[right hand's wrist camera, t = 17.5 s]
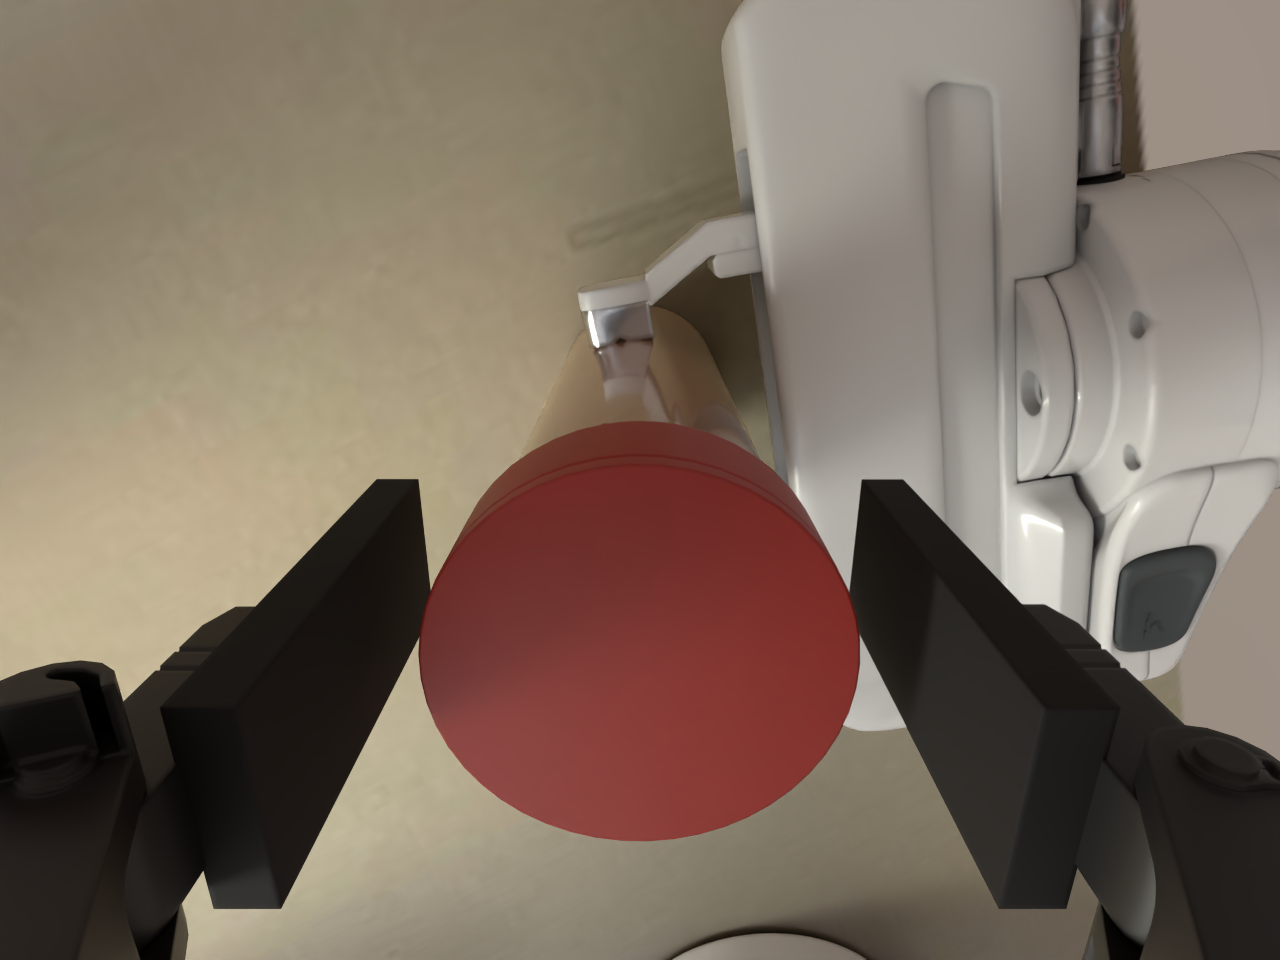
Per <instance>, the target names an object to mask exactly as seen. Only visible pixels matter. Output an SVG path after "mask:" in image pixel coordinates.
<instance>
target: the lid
mask: <svg viewBox="0 0 1280 960" xmlns="http://www.w3.org/2000/svg"><path fill="white" fill-rule="evenodd" d="M419 665H420V676H421V682H422V686H423V690H424V694H425V698H426V702H427V705H428V707H429V710H430V712H431V715H432V717H433V720H434V722H435V725H436V727H437V728H438V730H439V732H440V734H441V735H442V737H443V739H444V740H445V742H446V744H447V746H448V747H449V749H450V750H451V751H452V752H453V754H454V755H455V756H456V758H457V759H458V760H459V761H460V763H461V764H462V765H463V767H464V768H465V769H466V770H467V771H468V772H469V773H470V774H472V775H473V776H474V777H475V778H476V779H477V780H478V781H479V782H480V783H481V784H482V785H483V786H484V787H486V788H487V789H488V790H489V791H491V792H492V793H493V794H495V795H496V796H497V797H498V798H500V799H501V800H503V801H504V802H506V803H508V804H509V805H511V806H513V807H514V808H516V809H517V810H519V811H521V812H522V813H524V814H527V815H529V816H531V817H533V818H535V819H537V820H540V821H542V822H544V823H546V824H549V825H552V826H555V827H558V828H561V829H564V830H567V831H570V832H574V833H578V834H583V835H587V836H591V837H596V838H604V839H612V840H621V841H655V840H668V839H676V838H682V837H687V836H693V835H698V834H702V833H705V832H709V831H712V830H715V829H719V828H722V827H725V826H728V825H730V824H732V823H735V822H737V821H740V820H742V819H744V818H747V817H749V816H751V815H753V814H754V813H756V812H758V811H760V810H762V809H764V808H765V807H767V806H769V805H771V804H772V803H773V802H775V801H776V800H778V799H779V798H781V797H782V796H783V795H785V794H786V793H788V792H789V791H790V790H792V789H793V788H794V787H795V786H796V785H797V784H798V783H799V782H800V781H802V780H803V779H804V778H805V777H806V776H807V775H808V774H809V773H810V772H811V771H812V770H813V769H814V767H815V766H816V765H817V764H818V763H819V762H820V760H821V759H822V758H823V757H824V756H825V754H826V753H827V751H828V750H829V748H830V747H831V745H832V744H833V742H834V741H835V739H836V738H837V736H838V735H839V733H840V731H841V728H842V726H843V724H844V722H845V720H846V718H847V716H848V714H849V711H850V708H851V705H852V701H853V698H854V695H855V692H856V688H857V681H858V675H859V668H860V635H859V629H858V623H857V616H856V612H855V609H854V606H853V603H852V600H851V597H850V594H849V591H848V588H847V586H846V584H845V582H844V580H843V578H842V576H841V574H840V572H839V570H838V568H837V566H836V564H835V563H834V561H833V559H832V557H831V555H830V553H829V551H828V550H827V548H826V546H825V544H824V542H823V540H822V539H821V537H820V535H819V533H818V531H817V529H816V527H815V526H814V524H813V522H812V520H811V518H810V516H809V514H808V513H807V511H806V509H805V508H804V506H803V505H802V503H801V502H800V500H799V499H798V498H797V496H796V495H795V493H794V492H793V490H792V489H791V488H790V487H789V486H788V485H787V484H786V483H785V482H784V481H783V480H782V479H781V478H780V476H779V475H778V474H777V473H776V472H775V471H773V470H772V469H771V468H770V467H768V466H767V465H766V464H765V463H763V462H762V461H761V460H760V459H758V458H757V457H756V456H754V455H753V454H751V453H749V452H748V451H746V450H744V449H743V448H741V447H739V446H738V445H736V444H734V443H732V442H730V441H728V440H725V439H723V438H721V437H718V436H716V435H714V434H711V433H709V432H705V431H702V430H698V429H695V428H691V427H688V426H684V425H677V424H671V423H664V422H653V421H626V422H616V423H606V424H601V425H597V426H593V427H588V428H584V429H580V430H577V431H574V432H571V433H569V434H566V435H563V436H561V437H558V438H555V439H553V440H551V441H549V442H548V443H546V444H544V445H542V446H540V447H538V448H536V449H534V450H533V451H531V452H530V453H528V454H527V455H525V456H524V457H523V458H521V459H520V460H518V461H517V462H516V463H514V464H513V465H511V466H510V467H509V468H508V469H507V470H506V471H505V472H504V473H503V474H502V475H501V476H500V477H499V478H498V479H497V480H496V481H495V482H494V483H493V484H492V485H491V486H490V488H489V489H488V490H487V491H486V493H485V494H484V495H483V496H482V498H481V499H480V500H479V502H478V503H477V505H476V507H475V508H474V510H473V512H472V514H471V515H470V517H469V519H468V521H467V522H466V524H465V526H464V528H463V530H462V532H461V533H460V535H459V537H458V539H457V541H456V543H455V544H454V546H453V548H452V550H451V552H450V554H449V555H448V557H447V559H446V561H445V563H444V565H443V567H442V568H441V570H440V572H439V574H438V576H437V578H436V579H435V582H434V584H433V587H432V589H431V592H430V594H429V597H428V600H427V602H426V605H425V609H424V614H423V618H422V623H421V627H420V639H419Z"/></svg>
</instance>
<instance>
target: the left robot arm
mask: <svg viewBox="0 0 1280 960" xmlns="http://www.w3.org/2000/svg"><path fill="white" fill-rule="evenodd" d="M1126 17H1127V0H743V1H742V3H741V4H740V5H739V7H738V9H737V10H736V12H735V14H734V15H733V17H732V18H731V21H730V23H729V25H728V27H727V29H726V31H725V34H724V37H723V40H722V47H721V52H722V63H723V71H724V79H725V86H726V94H727V102H728V110H729V117H730V125H731V133H732V141H733V148H734V156H735V164H736V172H737V179H738V187H739V195H740V203H741V210H742V212H740V213H736V214H731V215H726V216H721V217H716V218H711V219H706V220H701V221H699V222H698V223H697V224H695V225H694V226H693V227H692V228H691V229H690V230H689V231H687V232H686V233H685V234H684V235H683V236H682V237H681V238H680V239H678V240H677V241H676V242H675V243H674V244H673V245H672V246H671V247H669V248H668V249H667V250H666V251H665V252H664V253H663V254H661V255H660V256H659V257H658V258H657V259H656V260H655V261H654V262H652V263H651V264H650V265H649V266H648V267H647V268H646V269H645V274H643V275H638V276H632V277H627V278H622V279H617V280H612V281H606V282H601V283H596V284H592V285H589V286H586V287H582V288H580V289H579V291H578V292H577V293H578V298H579V304H580V309H581V313H582V318H583V322H584V326H585V331H586V335H587V340H588V344H589V347H591V348H598V347H605V346H608V345H611V344H614V343H615V342H616V341H617V340H618V339H619V338H622V339H624V340H627V341H636V340H643V339H649V338H654V337H655V335H654V327H653V320H652V314H651V308H650V305H651V306H652V305H653V304H654V303H656V302H657V301H658V300H659V299H660V298H662V297H663V296H664V295H665V294H666V293H667V292H669V291H670V290H671V289H672V288H673V287H674V286H676V285H677V284H678V283H679V282H680V281H682V280H683V279H684V278H685V277H686V276H687V275H689V274H690V273H691V272H692V271H693V270H695V269H696V268H697V267H698V266H699V265H700V264H702V263H703V262H704V261H705V260H706V259H707V265H708V268H709V269H710V270H711V271H712V272H713V273H714V274H715V275H716V276H717V277H719V278H720V279H721V278H727V277H732V276H738V275H744V274H750V280H751V288H752V295H753V303H754V311H755V319H756V326H757V334H758V342H759V350H760V357H761V365H762V373H763V380H764V388H765V396H766V404H767V411H768V419H769V427H770V435H771V442H772V450H773V458H774V466H775V472H776V473H777V474H778V475H779V476H780V478H781V479H782V480H783V481H784V482H785V483H786V484H787V485H788V486H789V487H790V488H791V489H792V490H793V492H794V493H795V495H796V496H797V498H798V499H799V500H800V502H801V503H802V505H803V506H804V508H805V509H806V511H807V513H808V514H809V516H810V518H811V520H812V522H813V524H814V526H815V527H816V529H817V531H818V533H819V535H820V537H821V539H822V540H823V542H824V544H825V546H826V548H827V550H828V551H829V553H830V555H831V557H832V559H833V561H834V563H835V564H836V566H837V568H838V570H839V572H840V574H841V576H842V578H843V580H844V582H845V584H846V586H847V588H848V591H849V590H850V581H851V572H852V563H853V553H854V544H855V535H856V526H857V517H858V508H859V499H860V490H861V481H862V479H903V480H904V481H905V482H906V483H907V484H908V485H909V486H910V487H911V488H912V489H913V490H914V491H915V492H916V493H917V494H918V495H919V496H920V497H921V498H922V500H923V501H924V502H925V503H926V504H927V505H928V506H929V507H930V508H931V509H932V510H933V511H934V512H935V513H936V514H937V515H938V516H939V517H940V518H941V519H942V521H943V522H944V523H945V524H946V525H947V526H948V527H949V528H950V529H951V530H952V531H953V532H954V533H955V534H956V535H957V536H958V537H959V538H960V539H961V540H962V542H963V543H964V544H965V545H966V546H967V547H968V548H969V549H970V550H971V551H972V552H973V553H974V554H975V555H976V556H977V557H978V558H979V559H980V560H981V562H982V563H983V564H984V565H985V566H986V567H987V568H988V569H989V570H990V571H991V572H992V573H993V574H994V575H995V576H996V577H997V578H998V579H999V580H1000V581H1001V583H1002V584H1003V585H1004V586H1005V587H1006V588H1007V589H1008V590H1009V591H1010V592H1011V593H1012V594H1013V595H1014V596H1015V597H1016V598H1017V599H1018V600H1019V601H1020V602H1021V604H1045V605H1047V606H1049V607H1051V608H1052V609H1054V610H1056V611H1058V612H1060V613H1061V614H1063V615H1065V616H1067V617H1069V618H1070V619H1072V620H1074V621H1076V622H1078V623H1079V624H1080V625H1081V626H1082V627H1083V628H1084V629H1085V630H1086V631H1087V632H1088V633H1089V634H1090V635H1091V636H1092V637H1094V638H1095V639H1096V640H1097V641H1098V642H1099V643H1100V644H1101V649H1106V650H1107V651H1108V652H1109V653H1110V654H1111V655H1112V656H1113V657H1114V658H1115V659H1116V660H1118V661H1119V662H1120V666H1121V668H1126V669H1127V670H1128V671H1129V672H1130V673H1131V674H1132V675H1133V676H1134V677H1135V678H1136V679H1137V680H1138V681H1142V680H1147V679H1152V678H1156V677H1158V676H1161V675H1164V674H1165V673H1167V672H1169V671H1170V670H1171V669H1172V668H1173V667H1174V666H1175V665H1176V664H1177V663H1178V662H1179V660H1180V659H1181V657H1182V655H1183V654H1184V652H1185V650H1186V648H1187V646H1188V644H1189V642H1190V639H1191V637H1192V635H1193V633H1194V630H1195V628H1196V626H1197V623H1198V621H1199V619H1200V617H1201V615H1202V613H1203V611H1204V608H1205V606H1206V604H1207V602H1208V600H1209V598H1210V596H1211V594H1212V592H1213V590H1214V588H1215V586H1216V584H1217V582H1218V580H1219V578H1220V576H1221V574H1222V572H1223V571H1224V569H1225V567H1226V565H1227V563H1228V562H1229V560H1230V558H1231V556H1232V554H1233V553H1234V551H1235V549H1236V548H1237V546H1238V545H1239V543H1240V541H1241V540H1242V538H1243V536H1244V535H1245V533H1246V532H1247V530H1248V529H1249V528H1250V526H1251V525H1252V523H1253V522H1254V520H1255V519H1256V518H1257V516H1258V515H1259V513H1260V512H1261V510H1262V509H1263V508H1264V506H1265V505H1266V503H1267V501H1268V500H1269V498H1270V496H1271V494H1272V492H1273V490H1274V489H1278V488H1280V151H1249V152H1243V153H1236V154H1230V155H1225V156H1220V157H1215V158H1210V159H1205V160H1200V161H1195V162H1189V163H1184V164H1179V165H1174V166H1169V167H1163V168H1158V169H1153V170H1148V171H1142V172H1137V173H1130V174H1121V162H1122V134H1123V94H1121V93H1120V92H1121V91H1122V83H1121V82H1120V81H1119V79H1121V71H1120V70H1119V69H1118V68H1119V66H1120V57H1119V56H1118V55H1119V54H1120V47H1121V33H1123V32H1124V31H1125V26H1126ZM859 635H860V634H859ZM843 725H844V726H846V727H849V728H851V729H854V730H857V731H868V732H870V731H885V730H893V729H901V728H907V727H906V725H905V723H904V721H903V719H902V717H901V715H900V713H899V711H898V709H897V707H896V705H895V703H894V701H893V699H892V697H891V695H890V693H889V692H888V690H887V688H886V686H885V684H884V682H883V680H882V678H881V676H880V674H879V672H878V670H877V668H876V666H875V664H874V662H873V660H872V658H871V656H870V654H869V652H868V650H867V648H866V646H865V644H864V642H863V640H862V638H861V636H860V668H859V675H858V681H857V688H856V692H855V695H854V698H853V701H852V705H851V708H850V711H849V714H848V716H847V718H846V720H845V722H844V724H843ZM672 960H867V959H865V958H864V957H862V956H860V955H859V954H857V953H855V952H853V951H851V950H849V949H847V948H845V947H842V946H840V945H837V944H834V943H831V942H828V941H825V940H821V939H817V938H813V937H808V936H802V935H794V934H780V933H763V934H750V935H742V936H735V937H730V938H725V939H721V940H717V941H714V942H710V943H707V944H704V945H701V946H699V947H696V948H694V949H691V950H689V951H687V952H685V953H683V954H681V955H679V956H677V957H675V958H674V959H672Z"/></svg>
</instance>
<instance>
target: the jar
mask: <svg viewBox="0 0 1280 960" xmlns="http://www.w3.org/2000/svg"><path fill="white" fill-rule="evenodd" d="M650 308H651V314H652V320H653V327H654V335H655V337H654V338H649V339H643V340H636V341H627V340H624V339H622V338H619V339H618V340H617V341H616V342H615V343H614V344H611V345H608V346H605V347H598V348H591V347H589V344H588V340H587V335H586V331H585V329H584V330H583V331H582V332H581V334H580V335H579V336H578V338H577V339H576V341H575V343H574V344H573V346H572V349H571V351H570V353H569V355H568V357H567V359H566V361H565V363H564V365H563V368H562V370H561V372H560V374H559V376H558V378H557V380H556V382H555V385H554V387H553V389H552V391H551V393H550V395H549V397H548V399H547V402H546V404H545V406H544V408H543V410H542V412H541V414H540V416H539V418H538V421H537V423H536V425H535V427H534V429H533V431H532V433H531V435H530V438H529V440H528V442H527V444H526V446H525V448H524V450H523V452H522V455H521V457H520V459H521V458H523V457H524V456H525V455H527V454H528V453H530V452H531V451H533V450H534V449H536V448H538V447H540V446H542V445H544V444H546V443H548V442H549V441H551V440H553V439H555V438H558V437H561V436H563V435H566V434H569V433H571V432H574V431H577V430H580V429H584V428H588V427H593V426H597V425H601V424H606V423H616V422H626V421H653V422H664V423H671V424H677V425H684V426H688V427H691V428H695V429H698V430H702V431H705V432H709V433H711V434H714V435H716V436H718V437H721V438H723V439H725V440H728V441H730V442H732V443H734V444H736V445H738V446H739V447H741V448H743V449H744V450H746V451H748V452H749V453H751V454H753V455H754V456H756V457H757V458H758V459H760V458H759V455H758V453H757V451H756V449H755V447H754V445H753V443H752V440H751V438H750V436H749V434H748V432H747V430H746V428H745V425H744V423H743V421H742V419H741V417H740V415H739V413H738V411H737V408H736V406H735V404H734V402H733V400H732V398H731V396H730V393H729V391H728V389H727V387H726V385H725V383H724V381H723V379H722V376H721V374H720V372H719V370H718V368H717V366H716V364H715V361H714V359H713V357H712V355H711V353H710V351H709V349H708V346H707V344H706V343H705V341H704V340H703V338H702V336H701V335H700V334H699V333H698V331H697V330H696V329H695V328H694V327H693V326H692V325H691V324H690V323H689V322H688V321H686V320H685V319H683V318H682V317H680V316H679V315H677V314H675V313H673V312H671V311H669V310H666V309H663V308H660V307H655V306H650ZM520 459H519V460H520Z"/></svg>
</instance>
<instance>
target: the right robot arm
mask: <svg viewBox="0 0 1280 960" xmlns="http://www.w3.org/2000/svg"><path fill="white" fill-rule="evenodd" d="M430 592H431V590H430V581H429V572H428V563H427V553H426V544H425V535H424V526H423V517H422V508H421V499H420V490H419V481H418V479H377V480H376V481H375V482H374V483H373V484H372V485H371V486H370V487H369V488H368V489H367V490H366V491H365V492H364V493H363V494H362V495H361V496H360V497H359V498H358V500H357V501H356V502H355V503H354V504H353V505H352V506H351V507H350V508H349V509H348V510H347V511H346V512H345V513H344V514H343V515H342V516H341V517H340V518H339V519H338V521H337V522H336V523H335V524H334V525H333V526H332V527H331V528H330V529H329V530H328V531H327V532H326V533H325V534H324V535H323V536H322V537H321V538H320V539H319V540H318V542H317V543H316V544H315V545H314V546H313V547H312V548H311V549H310V550H309V551H308V552H307V553H306V554H305V555H304V556H303V557H302V558H301V559H300V560H299V562H298V563H297V564H296V565H295V566H294V567H293V568H292V569H291V570H290V571H289V572H288V573H287V574H286V575H285V576H284V577H283V578H282V579H281V580H280V581H279V583H278V584H277V585H276V586H275V587H274V588H273V589H272V590H271V591H270V592H269V593H268V594H267V595H266V596H265V597H264V598H263V599H262V600H261V601H260V602H259V604H258V605H257V606H256V607H234V608H233V609H231V610H229V611H227V612H226V613H224V614H222V615H220V616H218V617H217V618H215V619H213V620H211V621H209V622H208V623H206V624H204V625H202V626H201V627H200V628H199V629H198V630H197V631H196V632H195V633H194V634H193V635H192V636H191V637H190V638H189V639H188V640H187V641H186V642H185V643H184V644H183V645H182V646H181V647H180V650H179V652H174V653H173V654H172V655H171V656H170V657H169V658H168V659H167V660H166V661H165V662H164V663H163V664H162V665H161V666H160V667H161V668H160V671H155V672H154V673H153V674H152V675H151V676H149V677H148V678H147V679H146V680H145V681H144V682H143V683H142V684H141V685H140V686H139V687H138V688H137V689H136V690H135V691H134V692H133V693H132V694H131V695H130V696H129V697H128V698H127V699H126V700H125V701H124V702H123V699H122V696H121V692H120V689H119V686H118V682H117V679H116V675H115V672H114V670H112V669H111V668H109V667H108V666H106V665H104V664H103V663H98V662H89V661H72V662H63V663H54V664H50V665H46V666H42V667H38V668H35V669H31V670H27V671H24V672H20V673H18V674H16V675H13V676H11V677H8V678H6V679H4V680H1V681H0V960H185V956H186V948H187V941H188V929H187V922H186V917H185V914H184V910H183V907H182V902H183V901H184V899H185V898H186V896H187V895H188V893H189V892H190V890H191V888H192V887H193V885H194V884H195V882H196V881H197V879H198V878H199V876H200V875H201V873H202V872H203V871H204V874H205V878H206V882H207V886H208V889H209V893H210V897H211V900H212V904H213V908H214V909H281V908H282V906H283V904H284V902H285V900H286V898H287V896H288V894H289V892H290V890H291V888H292V886H293V884H294V882H295V880H296V878H297V876H298V874H299V872H300V870H301V869H302V867H303V865H304V863H305V861H306V859H307V857H308V855H309V853H310V851H311V849H312V847H313V845H314V843H315V841H316V839H317V837H318V835H319V833H320V831H321V829H322V827H323V825H324V823H325V821H326V819H327V817H328V815H329V813H330V811H331V810H332V808H333V806H334V804H335V802H336V800H337V798H338V796H339V794H340V792H341V790H342V788H343V786H344V784H345V782H346V780H347V778H348V776H349V774H350V772H351V770H352V768H353V766H354V764H355V762H356V760H357V758H358V756H359V754H360V752H361V751H362V749H363V747H364V745H365V743H366V741H367V739H368V737H369V735H370V733H371V731H372V729H373V727H374V725H375V723H376V721H377V719H378V717H379V715H380V713H381V711H382V709H383V707H384V705H385V703H386V701H387V699H388V697H389V695H390V693H391V692H392V690H393V688H394V686H395V684H396V682H397V680H398V678H399V676H400V674H401V672H402V670H403V668H404V666H405V664H406V662H407V660H408V658H409V656H410V654H411V652H412V650H413V648H414V646H415V644H416V642H417V640H418V638H419V636H420V627H421V623H422V618H423V614H424V609H425V605H426V602H427V600H428V597H429V594H430ZM849 594H850V597H851V600H852V603H853V606H854V609H855V612H856V616H857V623H858V629H859V634H860V636H861V638H862V640H863V642H864V644H865V646H866V648H867V650H868V652H869V654H870V656H871V658H872V660H873V662H874V664H875V666H876V668H877V670H878V672H879V674H880V676H881V678H882V680H883V682H884V684H885V686H886V688H887V690H888V692H889V693H890V695H891V697H892V699H893V701H894V703H895V705H896V707H897V709H898V711H899V713H900V715H901V717H902V719H903V721H904V723H905V725H906V727H907V729H908V731H909V733H910V735H911V737H912V739H913V741H914V743H915V745H916V747H917V749H918V751H919V752H920V754H921V756H922V758H923V760H924V762H925V764H926V766H927V768H928V770H929V772H930V774H931V776H932V778H933V780H934V782H935V784H936V786H937V788H938V790H939V792H940V794H941V796H942V798H943V800H944V802H945V804H946V806H947V808H948V810H949V811H950V813H951V815H952V817H953V819H954V821H955V823H956V825H957V827H958V829H959V831H960V833H961V835H962V837H963V839H964V841H965V843H966V845H967V847H968V849H969V851H970V853H971V855H972V857H973V859H974V861H975V863H976V865H977V867H978V869H979V870H980V872H981V874H982V876H983V878H984V880H985V882H986V884H987V886H988V888H989V890H990V892H991V894H992V896H993V898H994V900H995V902H996V904H997V906H998V908H999V909H1066V908H1067V904H1068V900H1069V897H1070V893H1071V889H1072V886H1073V882H1074V878H1075V874H1076V871H1077V868H1078V869H1079V871H1080V872H1081V874H1082V875H1083V877H1084V878H1085V880H1086V881H1087V883H1088V884H1089V886H1090V887H1091V889H1092V890H1093V892H1094V894H1095V895H1096V897H1097V898H1098V900H1099V903H1098V907H1097V910H1096V914H1095V917H1094V921H1093V924H1092V928H1091V931H1090V934H1089V938H1088V941H1087V945H1086V948H1085V952H1084V955H1083V959H1082V960H1280V761H1278V760H1277V759H1276V758H1274V757H1273V756H1271V755H1270V754H1269V753H1267V752H1266V751H1264V750H1262V749H1260V748H1258V747H1255V746H1254V745H1251V744H1249V743H1247V742H1245V741H1243V740H1241V739H1239V738H1237V737H1234V736H1231V735H1228V734H1224V733H1221V732H1218V731H1215V730H1211V729H1208V728H1203V727H1195V726H1187V725H1184V724H1183V723H1182V722H1181V721H1180V720H1179V719H1178V718H1177V717H1176V716H1175V715H1174V714H1173V713H1172V712H1171V711H1170V710H1169V709H1168V708H1167V707H1166V706H1164V705H1163V704H1162V703H1161V702H1160V701H1159V700H1158V699H1157V698H1156V697H1155V696H1154V695H1153V694H1152V693H1151V692H1150V691H1149V690H1148V689H1147V688H1146V687H1145V686H1144V685H1143V684H1142V683H1140V682H1139V681H1138V680H1137V679H1136V678H1135V677H1134V676H1133V675H1132V674H1131V673H1130V672H1129V671H1128V670H1127V669H1126V668H1121V666H1120V662H1119V661H1118V660H1116V659H1115V658H1114V657H1113V656H1112V655H1111V654H1110V653H1109V652H1108V651H1107V650H1106V649H1101V644H1100V643H1099V642H1098V641H1097V640H1096V639H1095V638H1094V637H1092V636H1091V635H1090V634H1089V633H1088V632H1087V631H1086V630H1085V629H1084V628H1083V627H1082V626H1081V625H1080V624H1079V623H1078V622H1076V621H1074V620H1072V619H1070V618H1069V617H1067V616H1065V615H1063V614H1061V613H1060V612H1058V611H1056V610H1054V609H1052V608H1051V607H1049V606H1047V605H1045V604H1021V602H1020V601H1019V600H1018V599H1017V598H1016V597H1015V596H1014V595H1013V594H1012V593H1011V592H1010V591H1009V590H1008V589H1007V588H1006V587H1005V586H1004V585H1003V584H1002V583H1001V581H1000V580H999V579H998V578H997V577H996V576H995V575H994V574H993V573H992V572H991V571H990V570H989V569H988V568H987V567H986V566H985V565H984V564H983V563H982V562H981V560H980V559H979V558H978V557H977V556H976V555H975V554H974V553H973V552H972V551H971V550H970V549H969V548H968V547H967V546H966V545H965V544H964V543H963V542H962V540H961V539H960V538H959V537H958V536H957V535H956V534H955V533H954V532H953V531H952V530H951V529H950V528H949V527H948V526H947V525H946V524H945V523H944V522H943V521H942V519H941V518H940V517H939V516H938V515H937V514H936V513H935V512H934V511H933V510H932V509H931V508H930V507H929V506H928V505H927V504H926V503H925V502H924V501H923V500H922V498H921V497H920V496H919V495H918V494H917V493H916V492H915V491H914V490H913V489H912V488H911V487H910V486H909V485H908V484H907V483H906V482H905V481H904V480H903V479H862V481H861V490H860V499H859V508H858V517H857V526H856V535H855V544H854V553H853V563H852V572H851V581H850V590H849Z"/></svg>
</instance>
